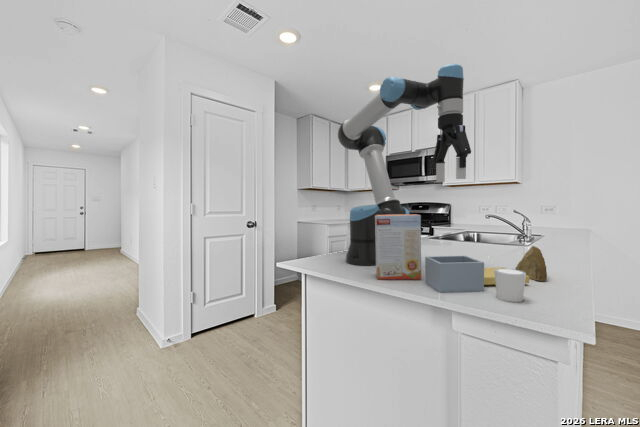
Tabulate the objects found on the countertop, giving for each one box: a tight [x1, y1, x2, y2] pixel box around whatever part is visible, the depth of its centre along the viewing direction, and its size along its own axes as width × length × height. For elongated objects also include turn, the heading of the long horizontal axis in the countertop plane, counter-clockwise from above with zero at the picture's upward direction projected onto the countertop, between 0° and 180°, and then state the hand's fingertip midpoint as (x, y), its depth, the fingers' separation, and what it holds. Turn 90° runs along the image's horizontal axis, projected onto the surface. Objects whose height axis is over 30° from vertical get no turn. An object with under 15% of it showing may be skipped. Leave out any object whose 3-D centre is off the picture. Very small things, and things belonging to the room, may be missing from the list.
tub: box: [424, 255, 485, 293], centre depth 84 cm, size 10×13×8 cm
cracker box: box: [375, 213, 422, 281], centre depth 94 cm, size 14×6×21 cm, turn 84°
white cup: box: [494, 268, 526, 303], centre depth 74 cm, size 7×7×7 cm
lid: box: [484, 267, 530, 286], centre depth 89 cm, size 11×14×3 cm
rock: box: [514, 245, 548, 282], centre depth 92 cm, size 11×9×10 cm
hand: (449, 180), depth 95 cm, fingers open, 13 cm apart
